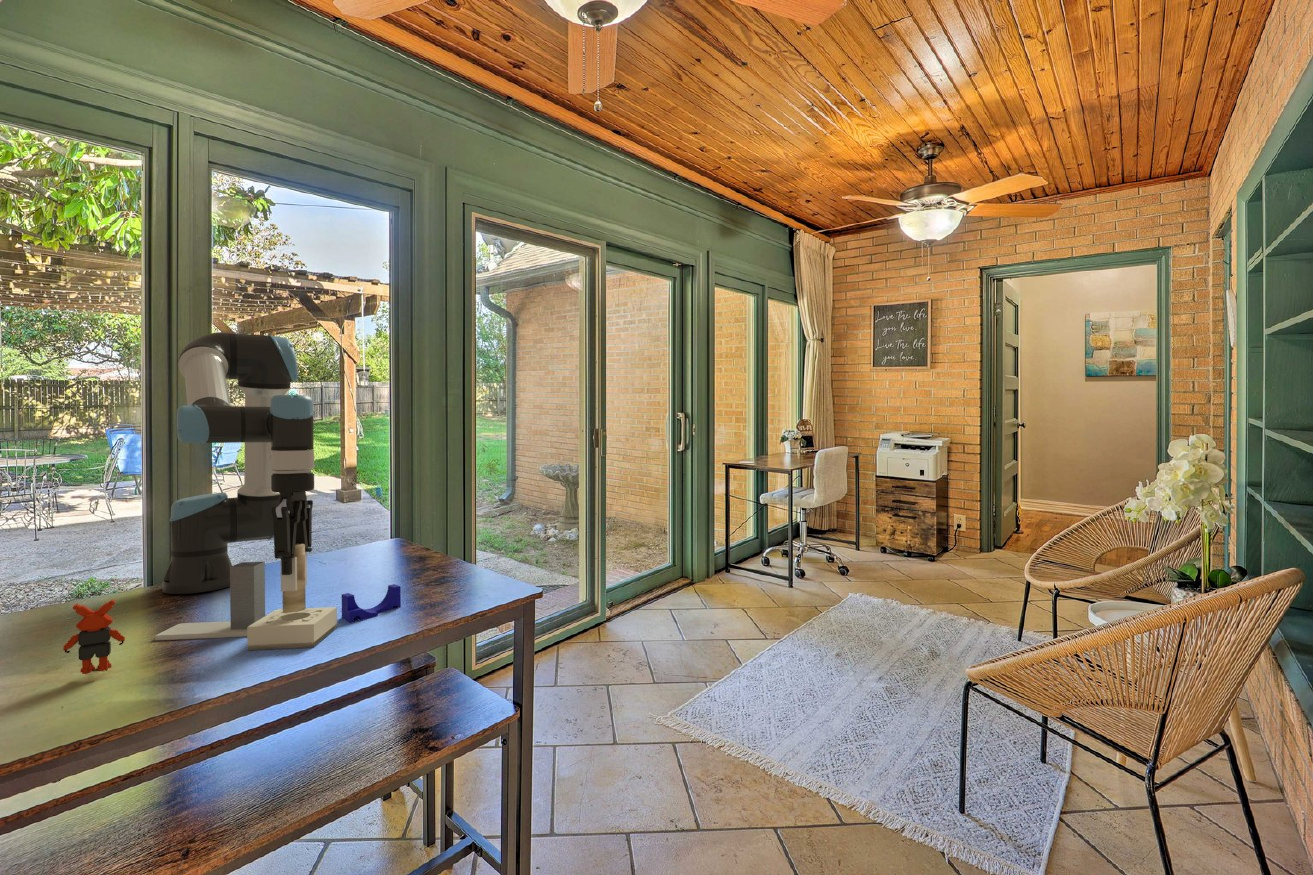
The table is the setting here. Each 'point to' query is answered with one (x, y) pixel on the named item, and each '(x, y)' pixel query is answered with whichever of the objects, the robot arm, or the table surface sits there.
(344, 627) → the table surface
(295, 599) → the beech dowel
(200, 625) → the strip
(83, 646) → the toy animal
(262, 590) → the square bar
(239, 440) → the robot arm
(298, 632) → the socket block
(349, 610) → the blue curved cradle
